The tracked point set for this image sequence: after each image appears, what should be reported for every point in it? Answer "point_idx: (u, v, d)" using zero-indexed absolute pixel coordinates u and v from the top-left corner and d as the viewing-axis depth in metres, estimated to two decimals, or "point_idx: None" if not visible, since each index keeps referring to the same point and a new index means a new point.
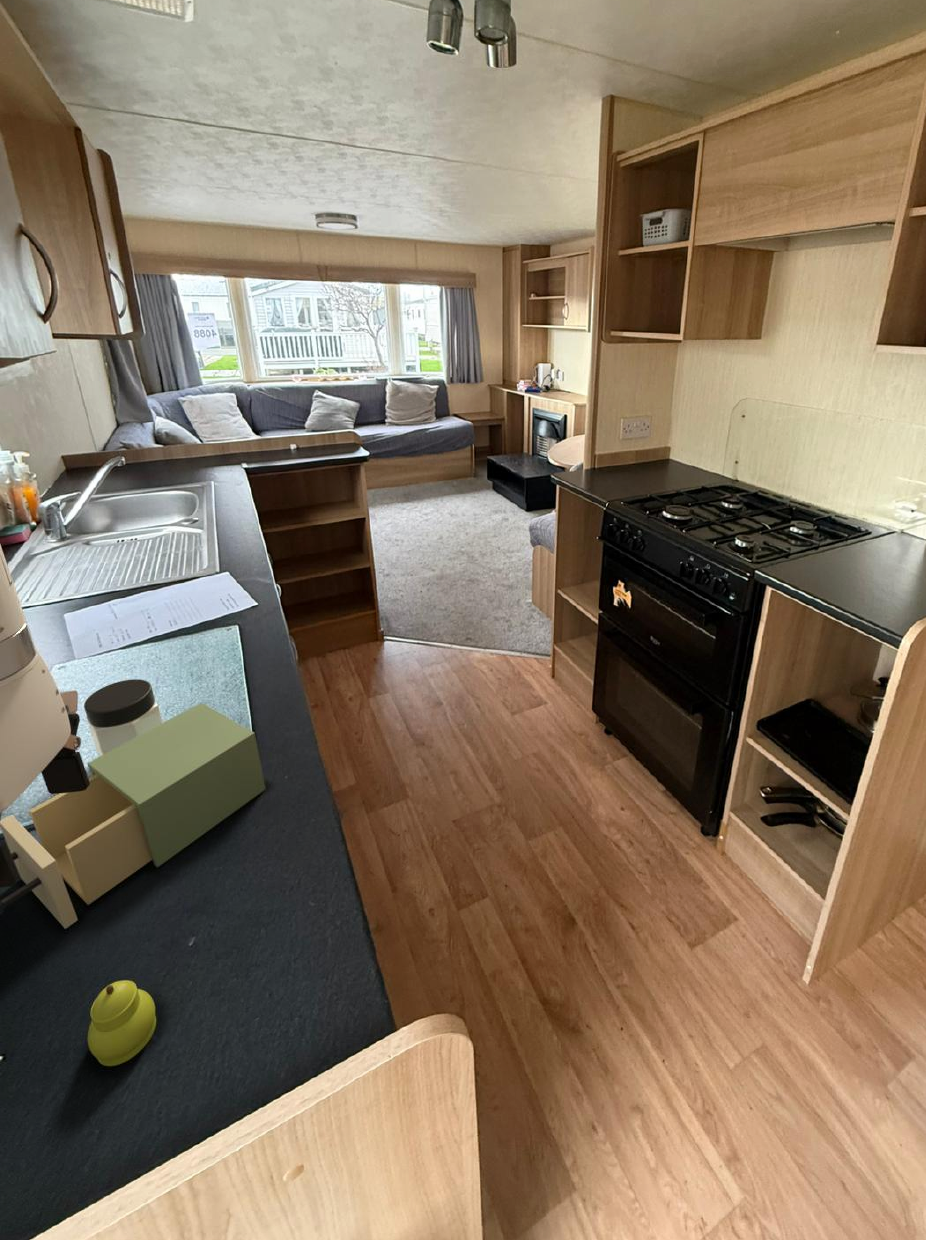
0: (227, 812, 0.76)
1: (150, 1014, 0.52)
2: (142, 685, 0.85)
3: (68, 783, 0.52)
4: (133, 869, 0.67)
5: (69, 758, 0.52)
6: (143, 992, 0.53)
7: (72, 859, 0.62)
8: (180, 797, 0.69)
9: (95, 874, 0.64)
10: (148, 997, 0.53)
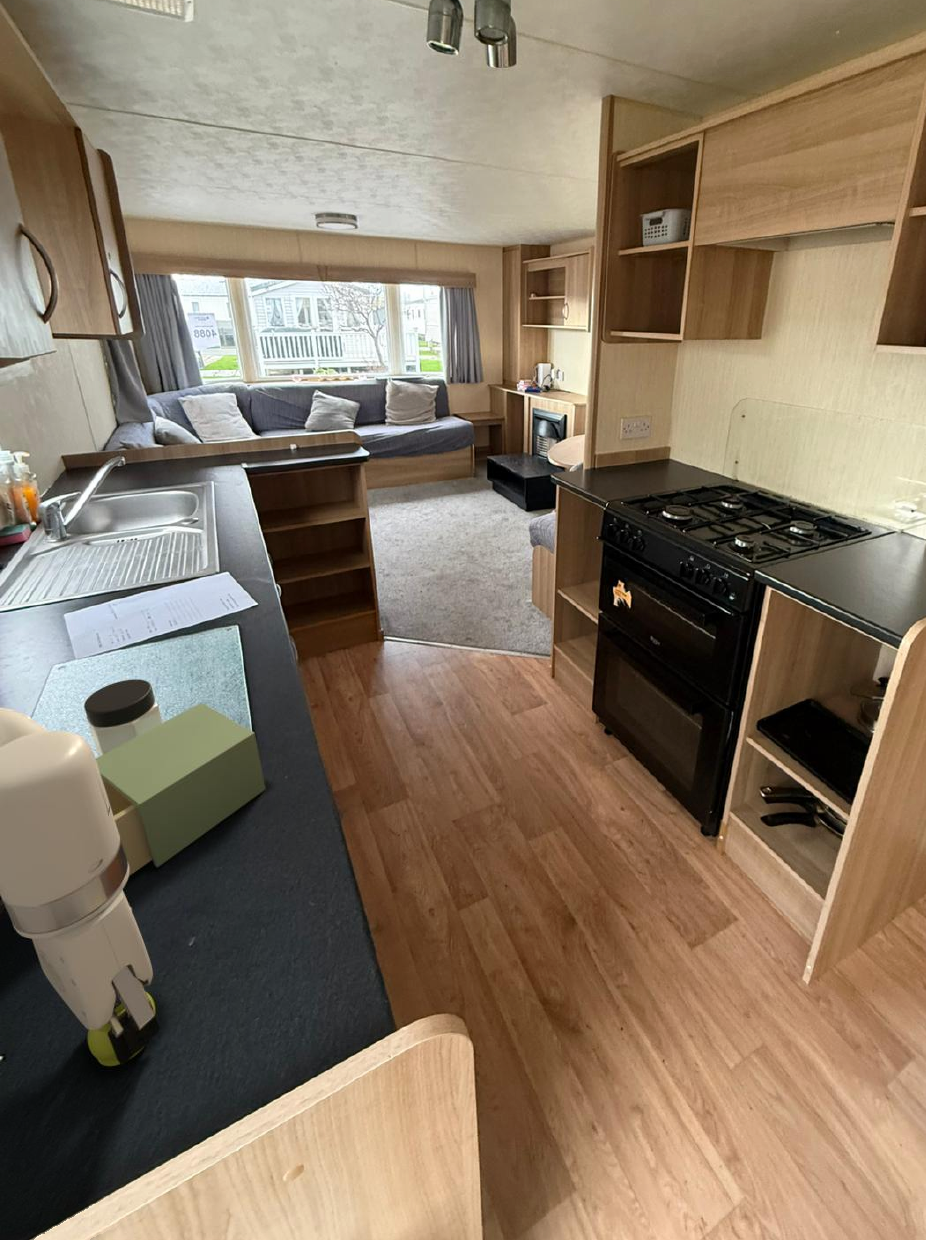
0: (227, 812, 0.76)
1: None
2: (142, 685, 0.85)
3: None
4: (133, 869, 0.67)
5: None
6: None
7: None
8: (180, 797, 0.69)
9: None
10: (148, 997, 0.53)
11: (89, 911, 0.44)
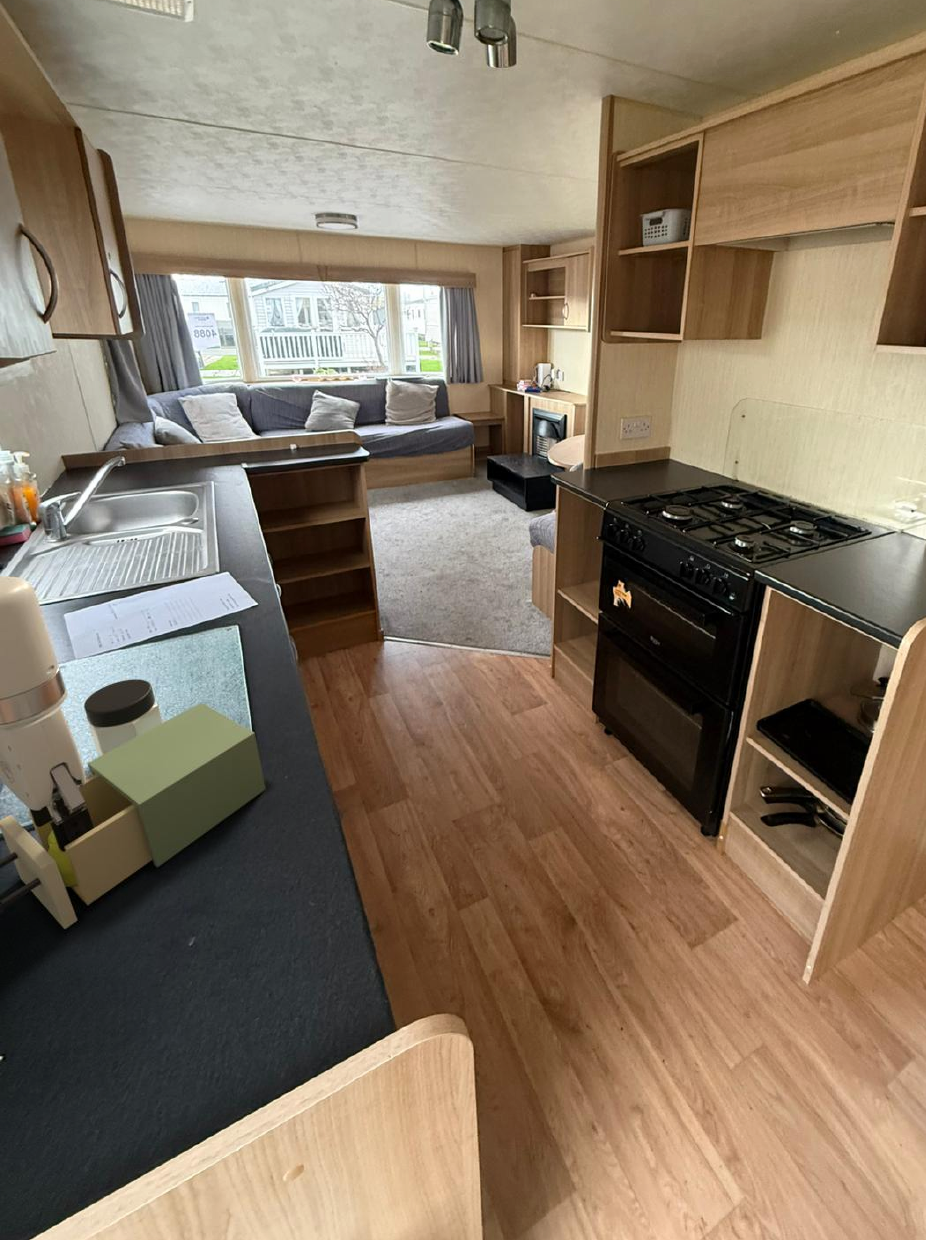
0: (227, 812, 0.76)
1: None
2: (142, 685, 0.85)
3: None
4: (133, 869, 0.67)
5: None
6: None
7: (72, 859, 0.61)
8: (180, 797, 0.69)
9: (94, 874, 0.64)
10: None
11: (31, 713, 0.57)
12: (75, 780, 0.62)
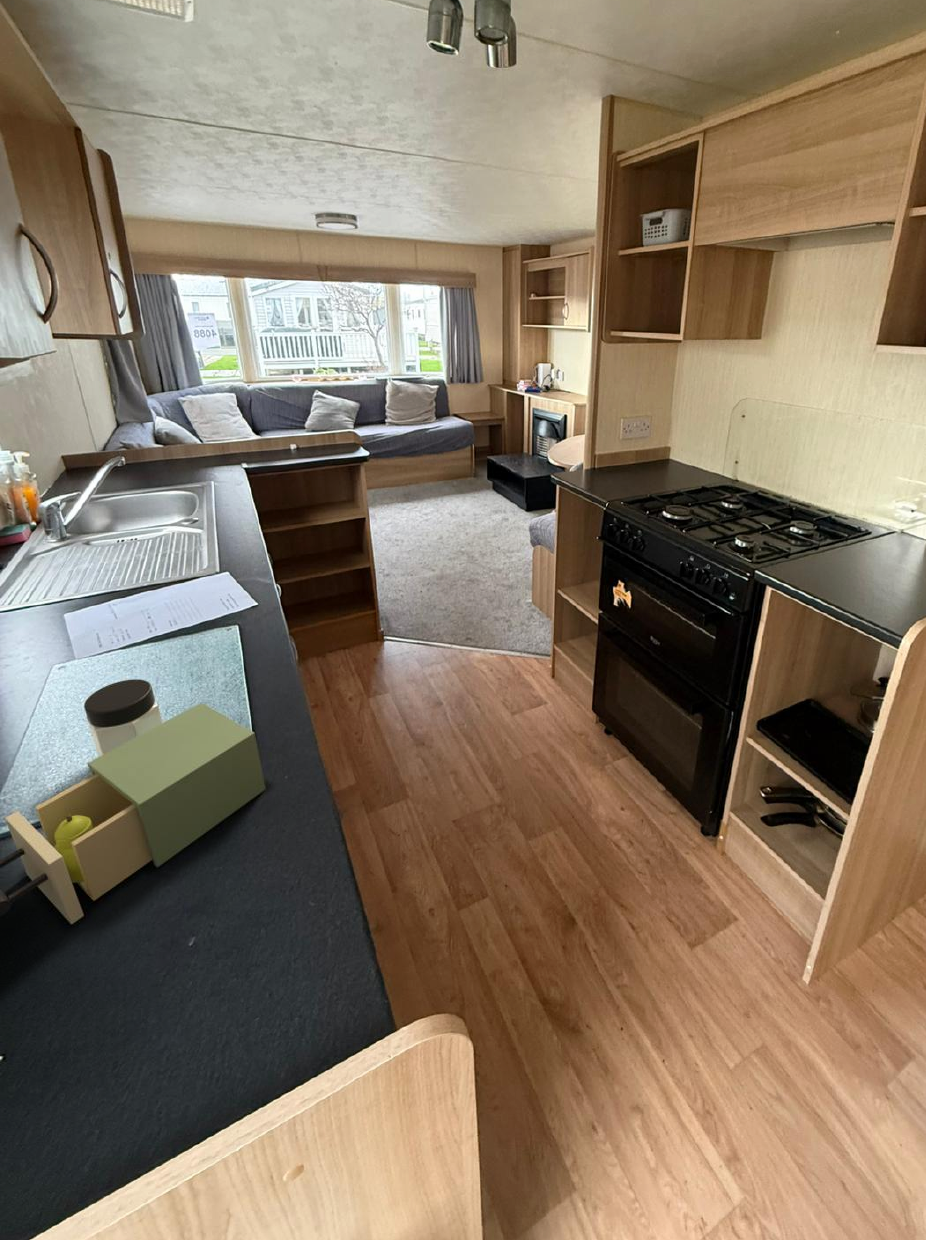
0: (227, 812, 0.76)
1: None
2: (142, 685, 0.85)
3: None
4: (138, 865, 0.68)
5: None
6: None
7: (78, 855, 0.62)
8: (180, 797, 0.69)
9: (100, 870, 0.64)
10: None
11: None
12: None
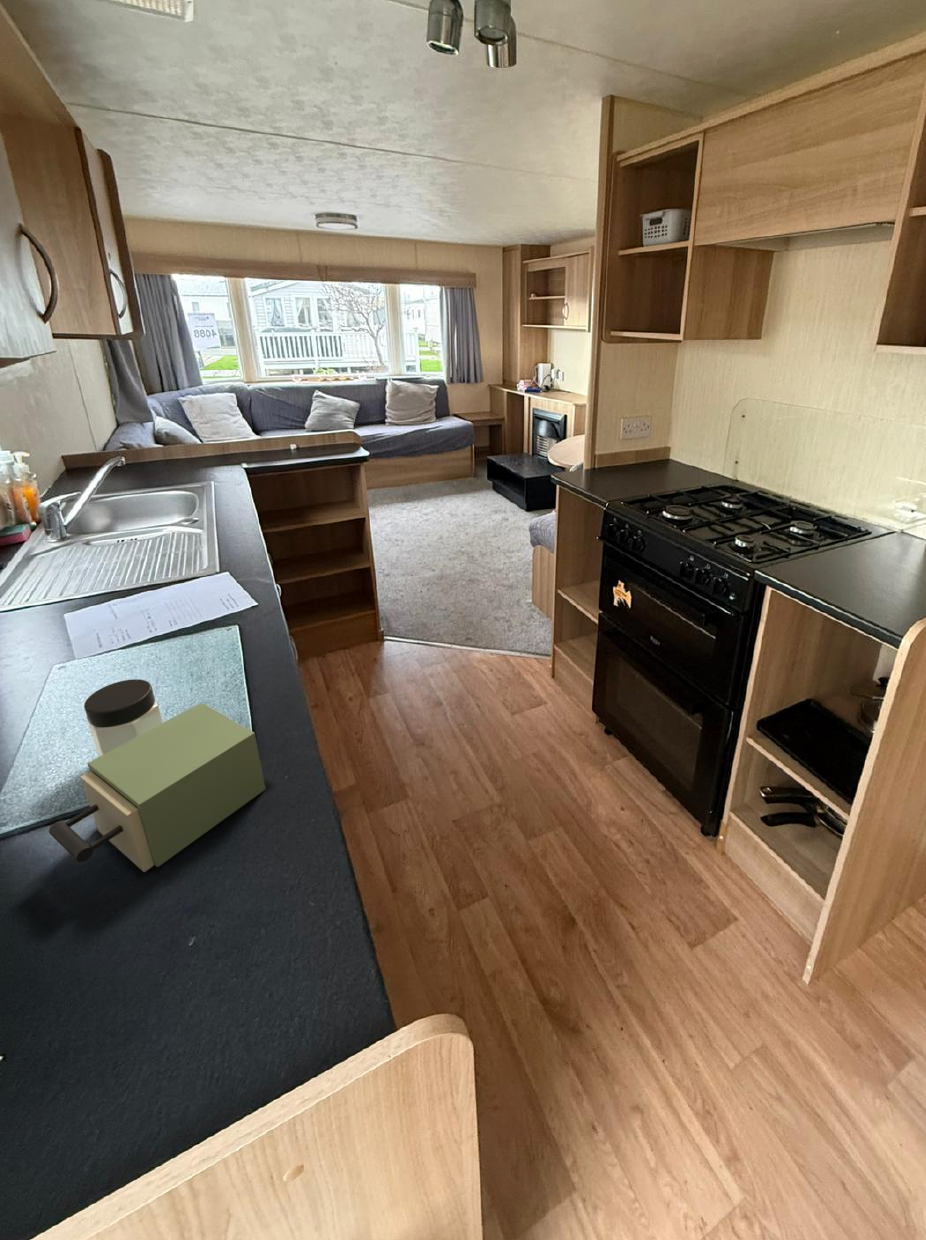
0: (227, 812, 0.76)
1: None
2: (142, 685, 0.85)
3: None
4: None
5: None
6: None
7: None
8: (180, 797, 0.69)
9: None
10: None
11: None
12: None
